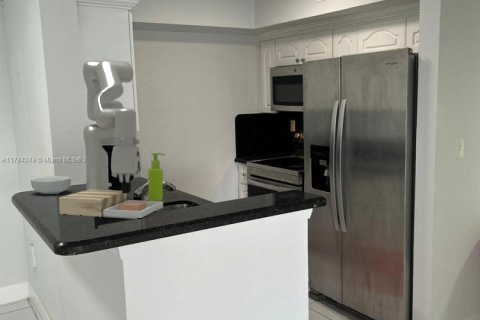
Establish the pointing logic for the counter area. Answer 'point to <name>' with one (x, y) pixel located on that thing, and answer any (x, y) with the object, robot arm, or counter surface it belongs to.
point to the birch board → (90, 202)
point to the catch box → (118, 213)
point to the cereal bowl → (51, 184)
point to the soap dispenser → (156, 179)
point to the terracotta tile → (133, 206)
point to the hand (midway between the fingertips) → (126, 192)
